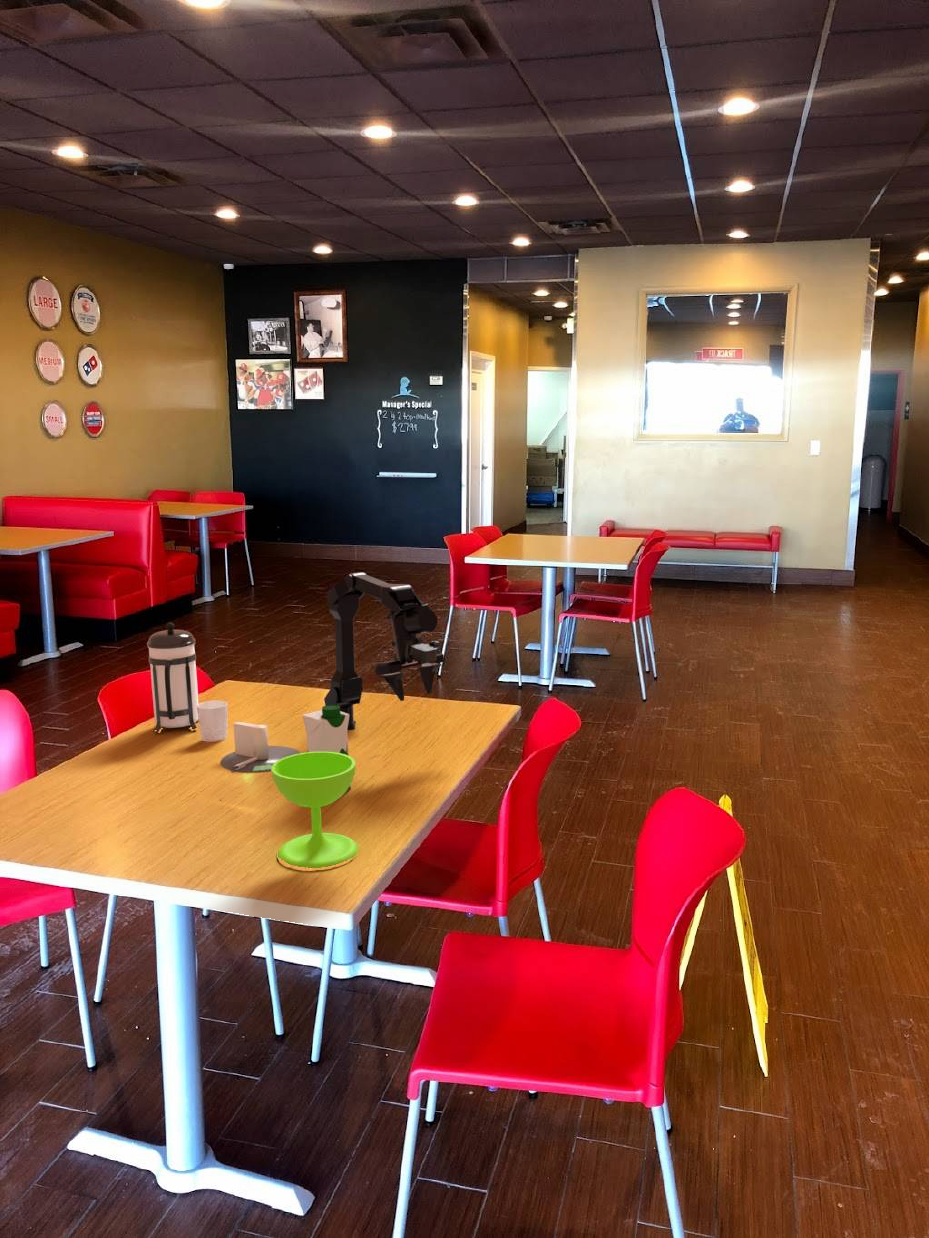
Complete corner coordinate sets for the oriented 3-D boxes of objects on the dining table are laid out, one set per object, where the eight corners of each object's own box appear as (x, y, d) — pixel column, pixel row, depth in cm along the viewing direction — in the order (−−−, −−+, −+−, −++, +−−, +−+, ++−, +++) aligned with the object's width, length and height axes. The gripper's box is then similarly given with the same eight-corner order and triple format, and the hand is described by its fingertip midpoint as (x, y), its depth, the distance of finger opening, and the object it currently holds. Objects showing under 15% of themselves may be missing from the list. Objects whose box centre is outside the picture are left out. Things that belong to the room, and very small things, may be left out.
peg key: (271, 756, 239) (270, 725, 238) (239, 770, 230) (236, 738, 228) (242, 750, 244) (240, 720, 243) (209, 764, 235) (207, 732, 233)
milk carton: (325, 799, 214) (321, 713, 210) (301, 789, 220) (297, 705, 216) (356, 789, 220) (353, 705, 216) (332, 779, 226) (328, 697, 222)
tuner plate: (318, 756, 242) (318, 752, 242) (264, 781, 226) (264, 777, 225) (259, 744, 252) (259, 740, 252) (203, 767, 236) (202, 763, 235)
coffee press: (136, 729, 267) (127, 624, 261) (185, 716, 279) (178, 615, 273) (171, 741, 256) (162, 631, 250) (221, 727, 268) (214, 622, 262)
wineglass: (262, 849, 188) (257, 762, 185) (335, 829, 197) (331, 746, 194) (298, 879, 176) (293, 786, 172) (374, 856, 185) (371, 767, 181)
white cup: (193, 743, 254) (190, 707, 253) (211, 734, 262) (208, 699, 260) (217, 746, 252) (215, 709, 250) (235, 737, 259) (233, 701, 257)
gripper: (398, 637, 226) (409, 702, 227) (454, 627, 240) (464, 688, 240) (369, 642, 234) (379, 704, 234) (424, 631, 247) (434, 691, 248)
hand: (416, 697), depth 239 cm, fingers open, 9 cm apart
